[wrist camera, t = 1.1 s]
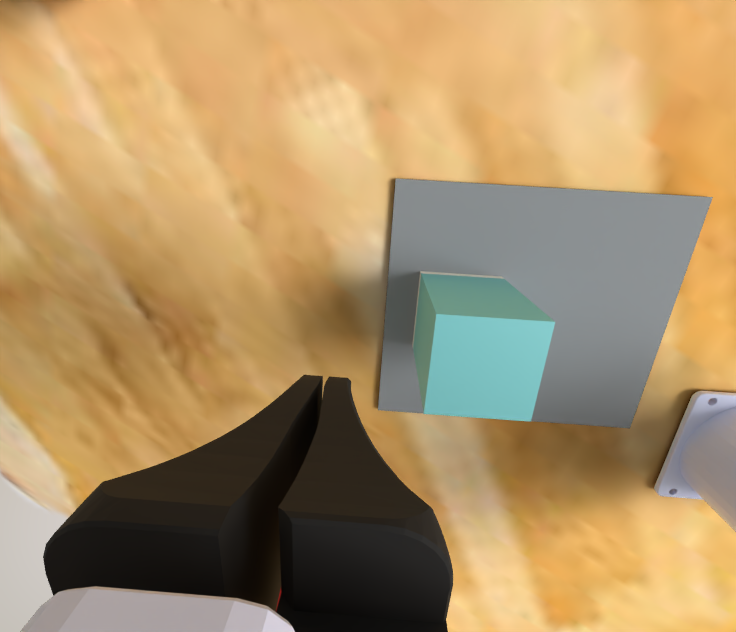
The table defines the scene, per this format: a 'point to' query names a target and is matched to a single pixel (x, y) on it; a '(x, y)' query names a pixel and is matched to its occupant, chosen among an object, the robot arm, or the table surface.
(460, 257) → the mat
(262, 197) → the table surface
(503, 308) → the teal block
